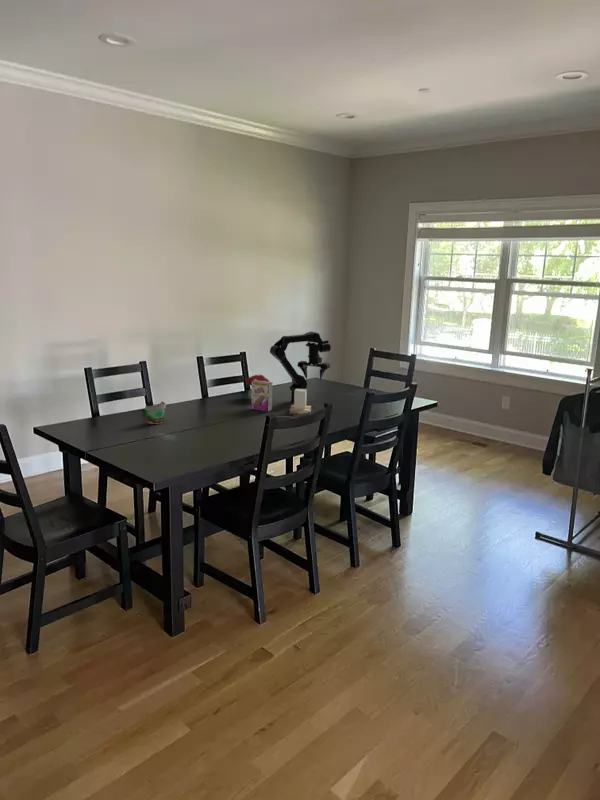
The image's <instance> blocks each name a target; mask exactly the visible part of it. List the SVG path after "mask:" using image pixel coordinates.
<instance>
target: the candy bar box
mask: <svg viewBox="0 0 600 800" xmlns="http://www.w3.org/2000/svg"><path fill="white" fill-rule="evenodd" d="M273 385H274V384H273V381H272V382H271V381H270V382H266V381H260V380H254V381H251V385H250V386H251V387H250V388H251V389H250V392H251V393H250V394H251V395H250V410H251V409H254V410H253V411H257V410H261V411H260V412H264V411H267V412H266V413H269V412H268V411H270V410H272V411H273ZM270 412H271V411H270Z"/></svg>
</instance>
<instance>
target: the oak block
mask: <svg viewBox="0 0 600 800" xmlns="http://www.w3.org/2000/svg"><path fill="white" fill-rule="evenodd" d="M289 408H290V409H289V415H292V414H291V413H298V414H297V415H300V414H303V413H308V412H310V413H311V411H312V405H307V404H306V408H305V409H294V404H291V406H290V407H289Z"/></svg>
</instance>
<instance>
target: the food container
mask: <svg viewBox="0 0 600 800" xmlns="http://www.w3.org/2000/svg"><path fill="white" fill-rule="evenodd" d="M166 408H167V405H166V403H165V401H160V403H157V404H156V403H155V404H152V405H145V408H144V410H145V415H146V423H147V422H149V423H160V422H163V421H165V409H166Z"/></svg>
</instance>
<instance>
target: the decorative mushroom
mask: <svg viewBox="0 0 600 800" xmlns="http://www.w3.org/2000/svg"><path fill="white" fill-rule="evenodd" d="M254 380H260V381H266V382H271V381H270V380H269V379H268V378H267V377H265V376H264V375H263V374H255V375H252V376H251V375H250V376H249V377H247V378H246V379H245V383H246V384H247V385H249V386H251V381H254Z"/></svg>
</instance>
